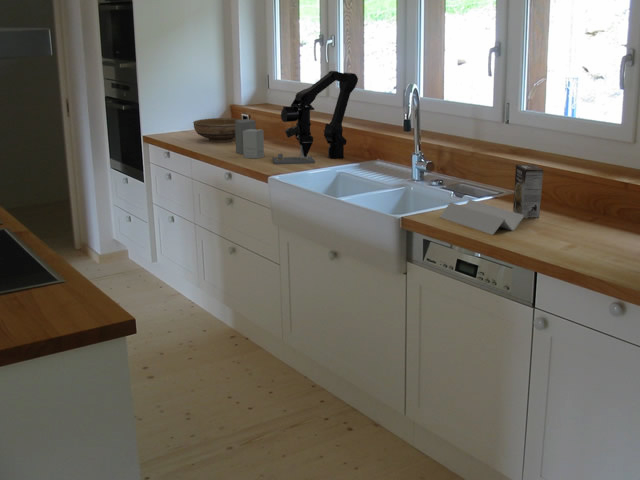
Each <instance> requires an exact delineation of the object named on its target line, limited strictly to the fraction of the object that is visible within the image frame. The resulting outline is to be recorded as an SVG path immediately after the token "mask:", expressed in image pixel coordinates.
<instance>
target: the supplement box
mask: <svg viewBox="0 0 640 480" xmlns="http://www.w3.org/2000/svg"><path fill="white" fill-rule="evenodd" d="M264 138H265V137H264V129H257V128H256V129H248V130H245V131H243V152H244V154H243V159H245V158H246V159H261V158H263V157H265V141H264V140H265V139H264Z"/></svg>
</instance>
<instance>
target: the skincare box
mask: <svg viewBox="0 0 640 480" xmlns="http://www.w3.org/2000/svg"><path fill="white" fill-rule="evenodd" d="M256 125H257V124H256V120H254V119H251V118H248V119H247V118H246V119H244V120H237V121H235V153H236V154H238V155H239V154H240V155H244V152H243V131H245V130H248V129H257V128H256Z"/></svg>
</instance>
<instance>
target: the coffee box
mask: <svg viewBox="0 0 640 480" xmlns="http://www.w3.org/2000/svg"><path fill="white" fill-rule="evenodd" d="M514 175H515V176H514V189H513V190H514V191H513V203H512V204H513V207H512V212H515V213H518V214H522V215H524V217H523V219H529V218H528V217H536V218H540V214H541V213H540V212H541V202H542V189H543V177H544V169H542V168H541V167H539V166H537V165H535V164H525V163H524V164H523V163H522V164H520V163H519V164H515V174H514Z"/></svg>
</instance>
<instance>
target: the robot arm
mask: <svg viewBox="0 0 640 480" xmlns="http://www.w3.org/2000/svg"><path fill="white" fill-rule="evenodd" d="M334 82H338V86H339V93H338V97H337V100H336V105H335V108H334V111H333V114H332V117H331V121H330V122H329V123H325V127H324V129H323V137H324V138H325V139H326V143H327V144H329V145H328V147H327V154H328V155H327V156H328V157H329V158H330V159H344V158H345V155H344V154H345V153H344V152H345V151H344V148H345V147H344V146H345V145H346V144H347V139H346V138H345V137H344V136H343V132H344V130H343V120H344V117H345V113H346V111H347V107H348V104H349V100H350V96H351V93H352V92H354V90H355V88H357V87H356V86H357V84H358V83H359V78H358V75H357V74H356V73H353V72H346V71H345V72H340V71H337V70H329V72H328V73H327V74H326V75H325V74H324V76H323V77H321V78H320V79H319V80H317V81H316V82H315V83H314V84H312V85H311V86H309V87H307V88H304V89H302V90H300V91H298V92H297V93H296V94H295V97H294V100H293V101H292V103H291V105H289V106H287V105H286V106H283V107H282V109H281V113H280V118H281V121H282V122H283V123H289V122H296V121H297V122H296V123H295V124H296V125H294V126H291V127H288V128H287V129H284V132H285V134H286V137H287V138H288V139H290V138H291V137H293V136H294V137H295V139H296V140H297V141H298V144H299V145H300V144H301V145H302V148H303V154H304V157H307V154H308V155H309V152H310V149H311V148H312V145H313V143H314V136H312V132H311V126H312V123H311V111H315V107H313V106H312V103H313V102H314V101H315V99H316V98H317V96H318V95H319V94H320V93H322V92H323V91H324V90H326V89H327V88H328V87H329V86H331V85H332V84H333V83H334Z"/></svg>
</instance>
